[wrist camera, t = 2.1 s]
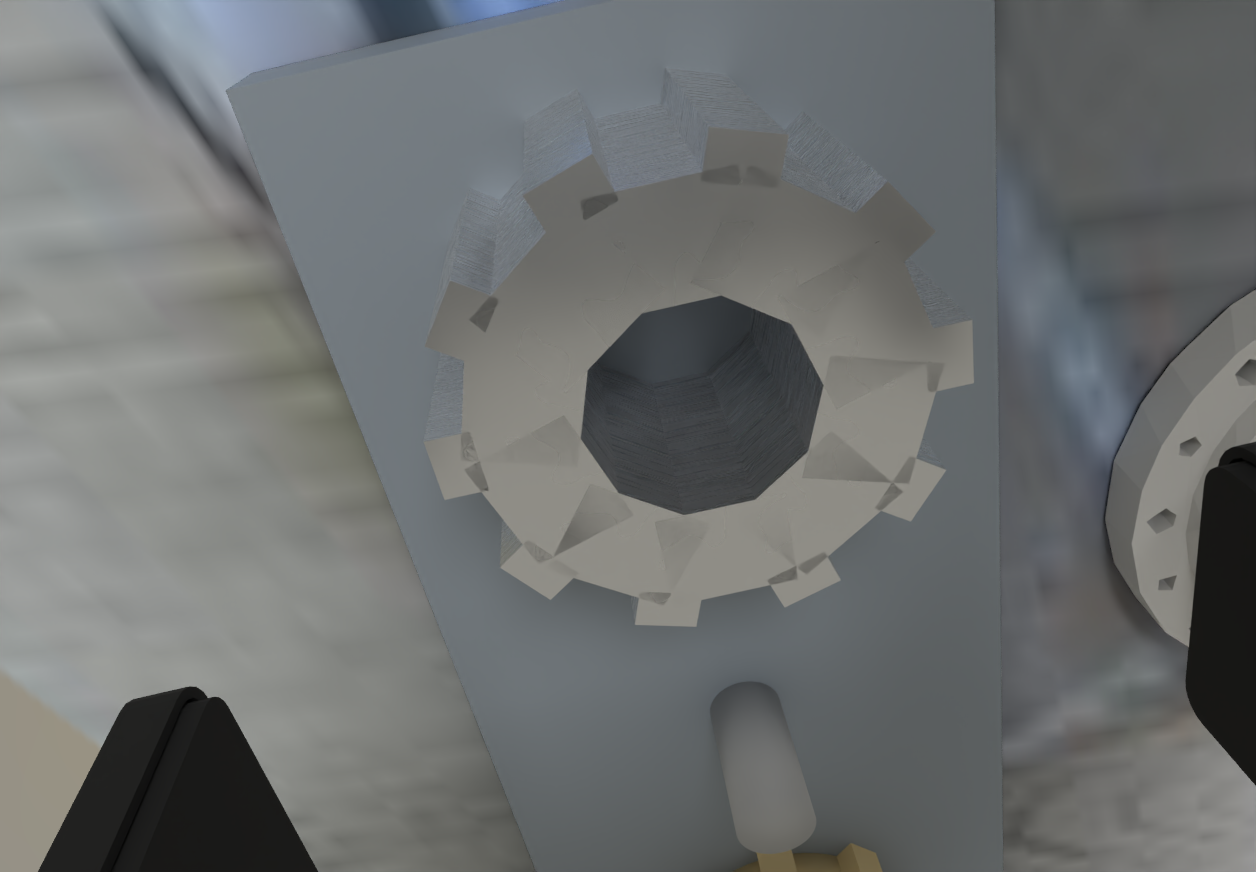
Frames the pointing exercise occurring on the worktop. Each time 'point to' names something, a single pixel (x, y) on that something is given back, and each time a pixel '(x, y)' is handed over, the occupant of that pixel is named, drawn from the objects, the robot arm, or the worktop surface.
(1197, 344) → the mechanical component
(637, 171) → the steel gear
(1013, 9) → the worktop surface
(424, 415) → the gear board
